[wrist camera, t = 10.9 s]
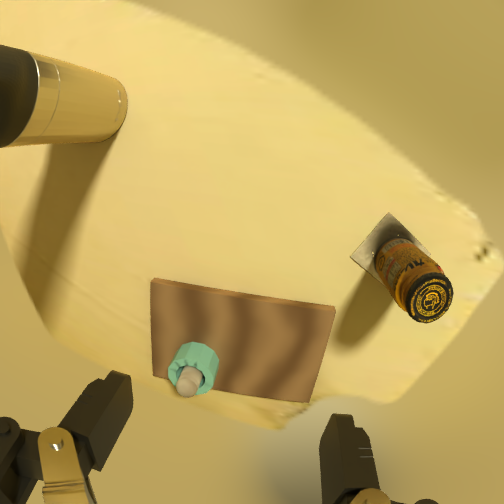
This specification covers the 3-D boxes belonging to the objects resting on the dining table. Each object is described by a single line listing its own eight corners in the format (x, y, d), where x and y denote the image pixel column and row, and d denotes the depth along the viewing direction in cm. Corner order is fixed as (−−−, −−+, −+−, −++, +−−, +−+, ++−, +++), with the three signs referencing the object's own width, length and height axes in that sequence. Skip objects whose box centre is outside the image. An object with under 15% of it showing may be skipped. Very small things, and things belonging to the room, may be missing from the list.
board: (156, 369, 47) (135, 406, 39) (154, 277, 42) (126, 307, 34) (308, 396, 46) (310, 438, 37) (334, 306, 41) (344, 343, 32)
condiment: (394, 294, 40) (426, 343, 28) (350, 256, 39) (373, 297, 27) (430, 253, 38) (474, 290, 26) (387, 211, 37) (427, 236, 25)
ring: (176, 372, 45) (168, 388, 41) (176, 338, 43) (167, 354, 39) (217, 380, 45) (212, 398, 41) (220, 347, 43) (214, 364, 39)
